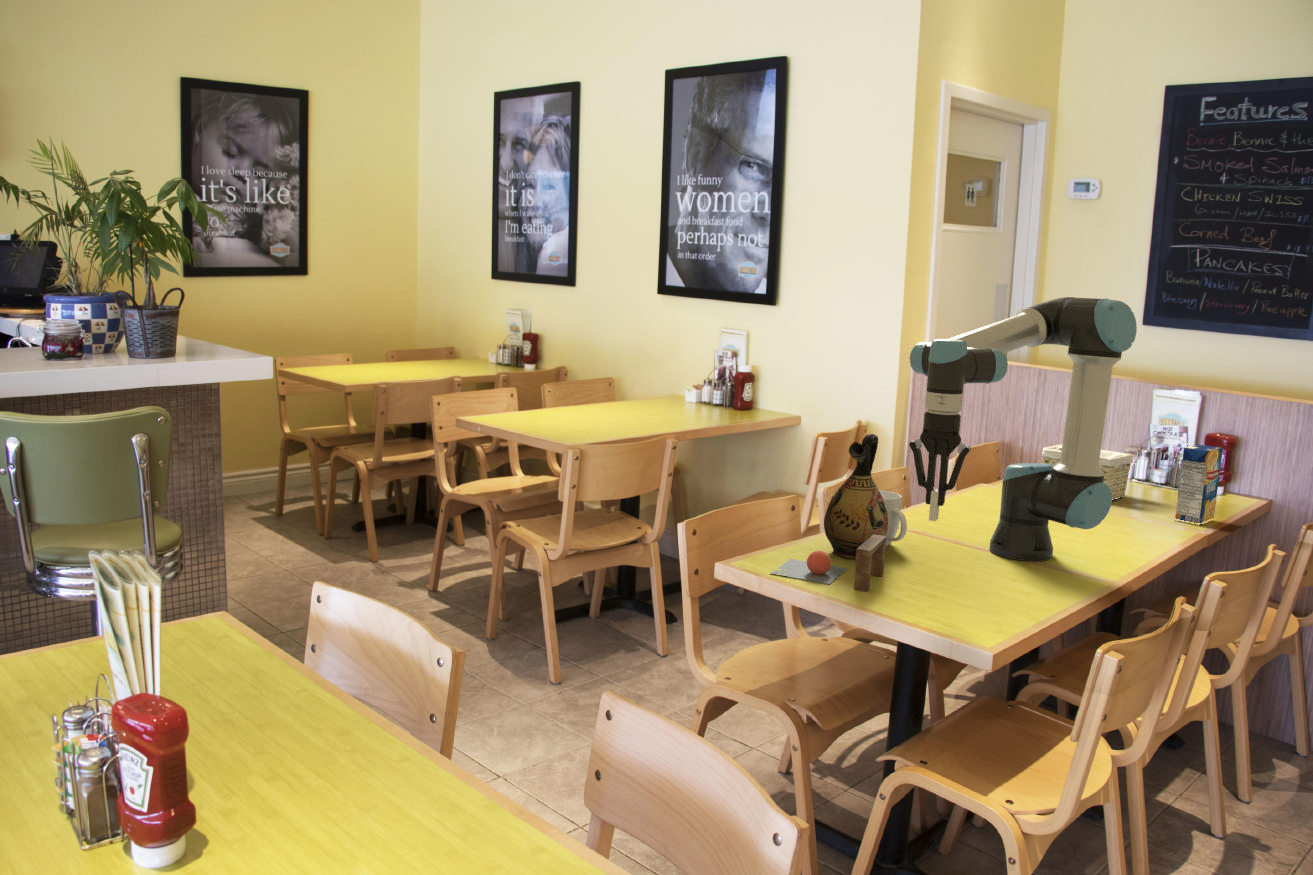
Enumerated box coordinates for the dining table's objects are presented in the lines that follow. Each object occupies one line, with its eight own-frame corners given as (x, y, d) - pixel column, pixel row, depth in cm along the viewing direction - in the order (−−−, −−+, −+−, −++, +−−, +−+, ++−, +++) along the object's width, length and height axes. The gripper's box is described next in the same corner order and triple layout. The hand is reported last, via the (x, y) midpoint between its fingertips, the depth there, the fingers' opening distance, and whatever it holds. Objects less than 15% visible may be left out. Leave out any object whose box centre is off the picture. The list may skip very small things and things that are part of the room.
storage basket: (1035, 490, 339) (1040, 446, 336) (1059, 485, 349) (1064, 442, 347) (1107, 505, 321) (1113, 458, 319) (1130, 498, 332) (1135, 453, 330)
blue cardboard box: (1174, 520, 303) (1183, 447, 299) (1189, 515, 310) (1198, 444, 306) (1198, 525, 298) (1208, 451, 294) (1213, 520, 305) (1223, 447, 301)
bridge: (883, 574, 237) (886, 536, 236) (867, 591, 224) (870, 550, 223) (870, 572, 239) (873, 534, 237) (853, 589, 226) (856, 548, 224)
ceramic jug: (872, 567, 243) (882, 442, 238) (812, 555, 251) (820, 434, 246) (896, 552, 257) (906, 434, 252) (838, 541, 265) (846, 426, 260)
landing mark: (847, 569, 241) (847, 568, 241) (829, 584, 228) (829, 583, 228) (790, 559, 247) (790, 558, 247) (770, 574, 234) (770, 573, 234)
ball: (808, 548, 239) (811, 571, 239) (803, 553, 234) (805, 577, 234) (832, 547, 237) (834, 571, 237) (826, 553, 231) (829, 577, 232)
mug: (918, 550, 260) (922, 499, 257) (887, 555, 254) (891, 504, 251) (875, 536, 272) (879, 487, 270) (845, 540, 266) (848, 491, 264)
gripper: (908, 411, 219) (899, 518, 223) (971, 417, 213) (961, 527, 217) (915, 407, 225) (907, 511, 229) (977, 413, 220) (967, 520, 224)
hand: (933, 519), depth 223 cm, fingers closed
